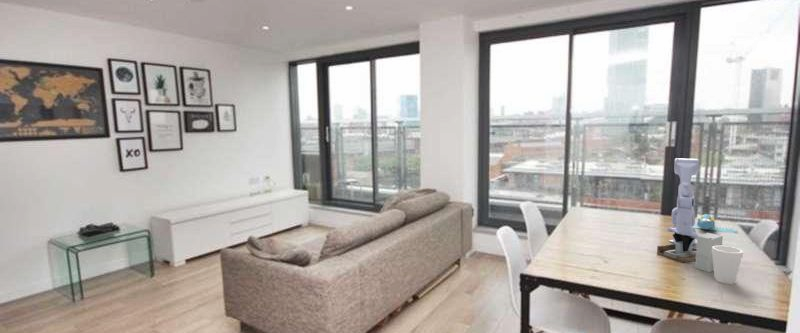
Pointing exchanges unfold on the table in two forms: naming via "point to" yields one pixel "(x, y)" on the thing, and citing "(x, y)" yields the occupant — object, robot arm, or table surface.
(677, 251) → the door panel
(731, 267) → the foam cup
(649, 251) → the table surface
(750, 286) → the table surface
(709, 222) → the blue toy animal
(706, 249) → the skincare box
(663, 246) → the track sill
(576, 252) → the table surface
